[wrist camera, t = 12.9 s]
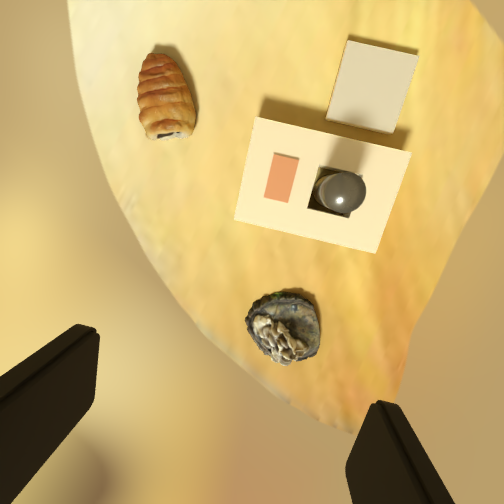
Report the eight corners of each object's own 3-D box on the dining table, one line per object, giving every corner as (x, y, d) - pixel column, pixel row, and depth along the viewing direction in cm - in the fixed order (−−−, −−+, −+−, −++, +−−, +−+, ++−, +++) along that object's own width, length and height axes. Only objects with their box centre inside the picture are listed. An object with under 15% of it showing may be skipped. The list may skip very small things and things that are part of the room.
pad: (345, 44, 30) (347, 40, 29) (414, 60, 30) (419, 56, 29) (324, 119, 32) (326, 117, 31) (389, 134, 32) (393, 133, 31)
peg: (318, 171, 34) (331, 167, 26) (349, 178, 34) (371, 177, 26) (309, 202, 35) (320, 208, 27) (339, 209, 35) (358, 217, 27)
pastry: (135, 64, 33) (117, 48, 29) (188, 54, 32) (177, 36, 28) (151, 144, 35) (137, 139, 31) (201, 137, 34) (193, 131, 30)
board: (257, 122, 33) (255, 115, 30) (399, 155, 32) (413, 152, 29) (236, 216, 36) (233, 219, 33) (367, 248, 35) (376, 254, 32)
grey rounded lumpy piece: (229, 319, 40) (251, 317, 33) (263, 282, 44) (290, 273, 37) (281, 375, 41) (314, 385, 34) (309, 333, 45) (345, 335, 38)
